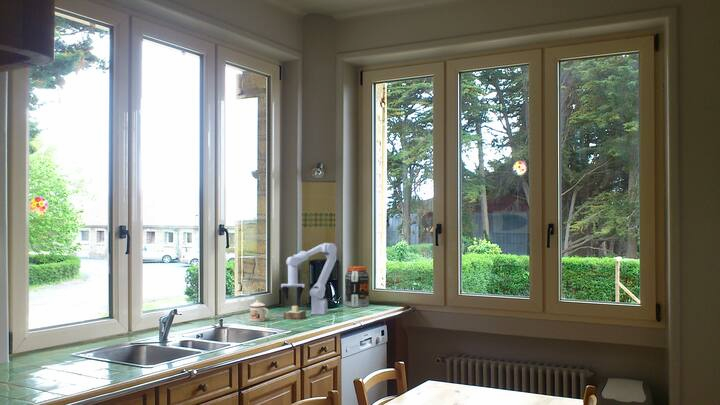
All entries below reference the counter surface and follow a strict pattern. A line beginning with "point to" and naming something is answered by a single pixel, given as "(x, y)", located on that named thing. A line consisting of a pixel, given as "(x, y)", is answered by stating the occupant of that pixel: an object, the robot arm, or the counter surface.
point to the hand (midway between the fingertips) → (293, 299)
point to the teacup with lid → (258, 312)
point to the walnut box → (295, 315)
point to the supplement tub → (357, 287)
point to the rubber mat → (277, 315)
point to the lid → (294, 310)
